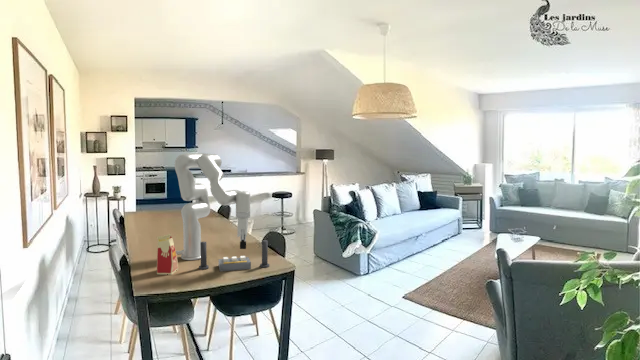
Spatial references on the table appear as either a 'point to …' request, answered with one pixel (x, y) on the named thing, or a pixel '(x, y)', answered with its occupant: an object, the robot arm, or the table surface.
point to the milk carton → (166, 255)
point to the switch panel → (234, 263)
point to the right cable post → (264, 254)
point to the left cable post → (203, 256)
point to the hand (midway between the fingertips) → (243, 248)
